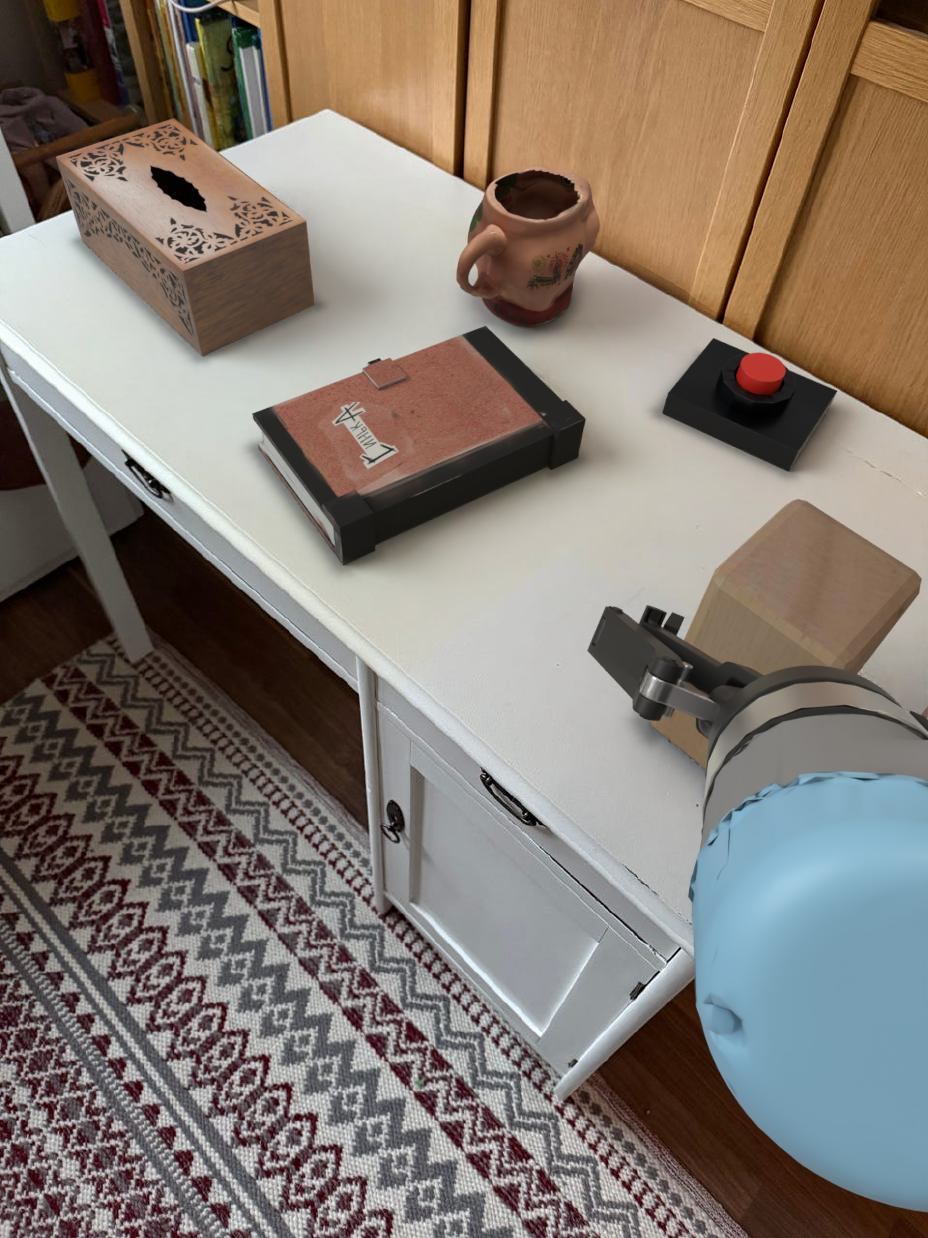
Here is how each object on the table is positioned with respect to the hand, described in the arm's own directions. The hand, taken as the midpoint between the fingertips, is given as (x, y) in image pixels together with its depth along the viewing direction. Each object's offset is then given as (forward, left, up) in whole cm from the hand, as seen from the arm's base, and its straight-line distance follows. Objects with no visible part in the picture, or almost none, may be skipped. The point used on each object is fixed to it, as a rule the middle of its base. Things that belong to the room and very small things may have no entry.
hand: (784, 684), depth 51 cm
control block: (+15, -45, -20) cm, 52 cm away
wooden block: (+1, -10, -21) cm, 23 cm away
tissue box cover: (+76, -28, -21) cm, 84 cm away
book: (+39, -20, -21) cm, 48 cm away
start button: (+15, -45, -16) cm, 50 cm away
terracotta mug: (+43, -45, -21) cm, 66 cm away
